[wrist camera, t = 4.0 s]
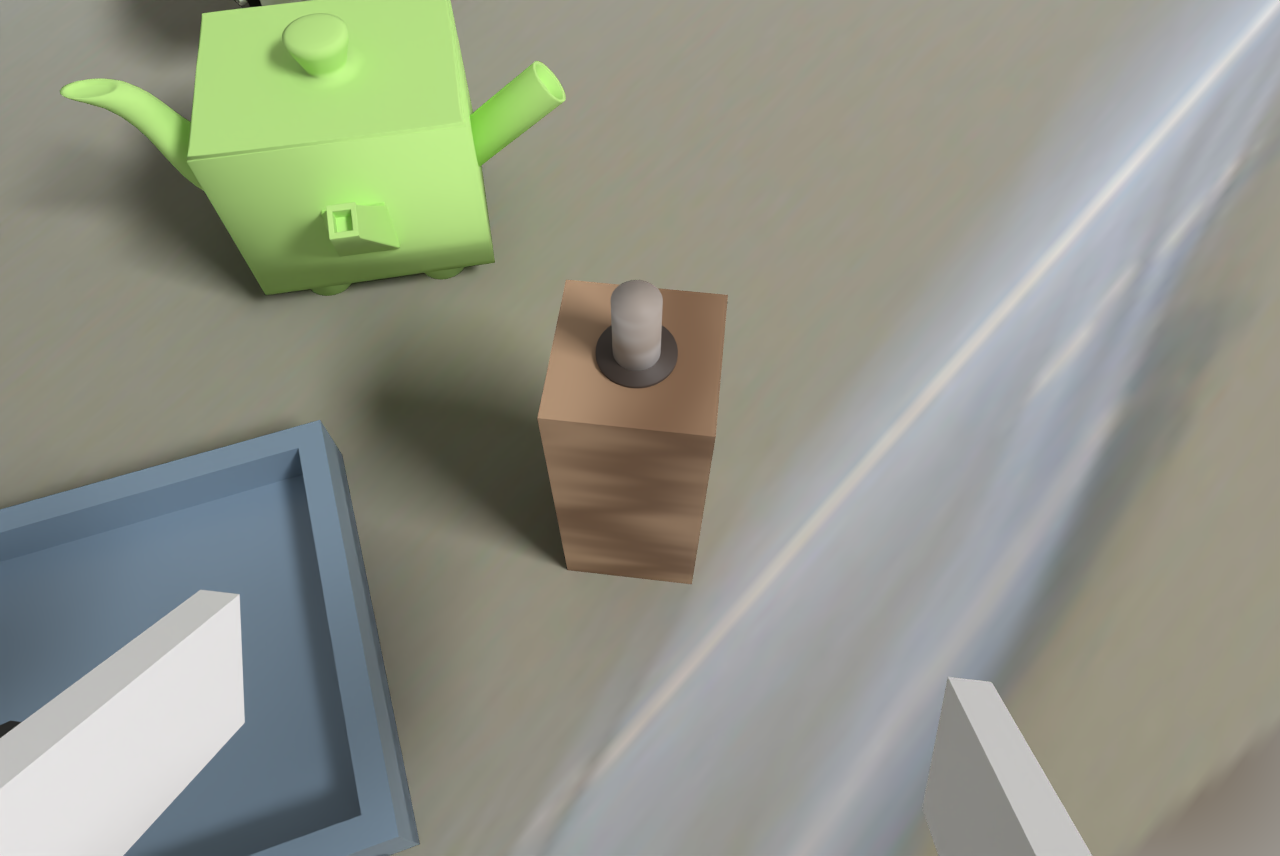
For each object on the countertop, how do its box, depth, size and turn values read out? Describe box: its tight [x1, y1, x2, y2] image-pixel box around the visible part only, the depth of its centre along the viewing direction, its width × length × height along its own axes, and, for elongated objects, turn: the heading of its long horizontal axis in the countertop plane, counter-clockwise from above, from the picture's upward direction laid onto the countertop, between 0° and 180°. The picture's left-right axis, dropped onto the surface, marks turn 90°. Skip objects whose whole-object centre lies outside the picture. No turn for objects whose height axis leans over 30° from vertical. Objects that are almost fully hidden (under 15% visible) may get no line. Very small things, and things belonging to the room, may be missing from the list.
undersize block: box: [537, 280, 728, 584], centre depth 29 cm, size 5×5×14 cm
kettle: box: [60, 0, 566, 296], centre depth 39 cm, size 15×14×11 cm
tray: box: [0, 420, 420, 856], centre depth 31 cm, size 16×16×3 cm
